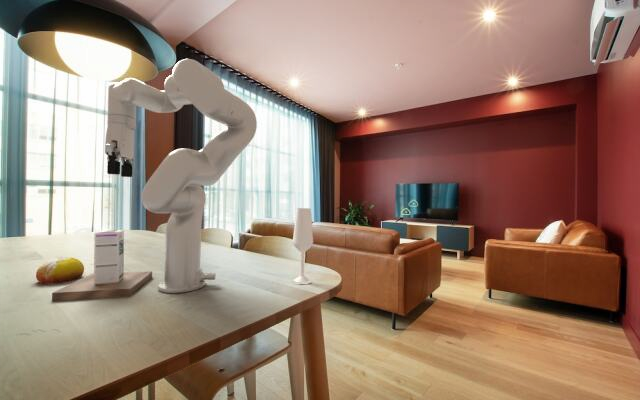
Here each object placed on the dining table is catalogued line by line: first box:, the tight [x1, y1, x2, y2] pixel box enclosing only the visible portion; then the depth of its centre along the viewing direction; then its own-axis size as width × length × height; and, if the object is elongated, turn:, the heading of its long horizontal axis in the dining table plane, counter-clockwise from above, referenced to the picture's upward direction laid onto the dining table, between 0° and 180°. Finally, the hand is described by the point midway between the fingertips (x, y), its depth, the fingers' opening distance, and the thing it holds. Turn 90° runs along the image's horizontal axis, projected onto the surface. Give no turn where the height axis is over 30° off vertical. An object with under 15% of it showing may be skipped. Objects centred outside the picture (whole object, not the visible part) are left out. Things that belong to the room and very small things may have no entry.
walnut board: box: [51, 271, 153, 302], centre depth 79 cm, size 17×18×2 cm
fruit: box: [35, 257, 85, 285], centre depth 86 cm, size 11×10×8 cm
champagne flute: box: [292, 207, 314, 282], centre depth 89 cm, size 7×7×24 cm
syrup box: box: [93, 229, 125, 284], centre depth 79 cm, size 6×6×14 cm
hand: (120, 175), depth 89 cm, fingers open, 9 cm apart
